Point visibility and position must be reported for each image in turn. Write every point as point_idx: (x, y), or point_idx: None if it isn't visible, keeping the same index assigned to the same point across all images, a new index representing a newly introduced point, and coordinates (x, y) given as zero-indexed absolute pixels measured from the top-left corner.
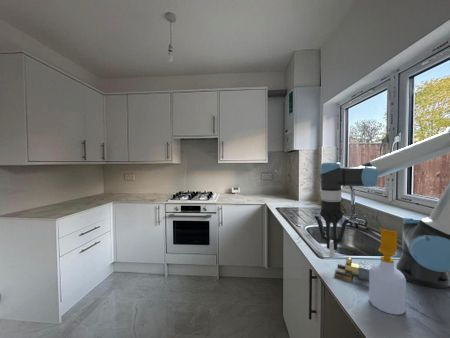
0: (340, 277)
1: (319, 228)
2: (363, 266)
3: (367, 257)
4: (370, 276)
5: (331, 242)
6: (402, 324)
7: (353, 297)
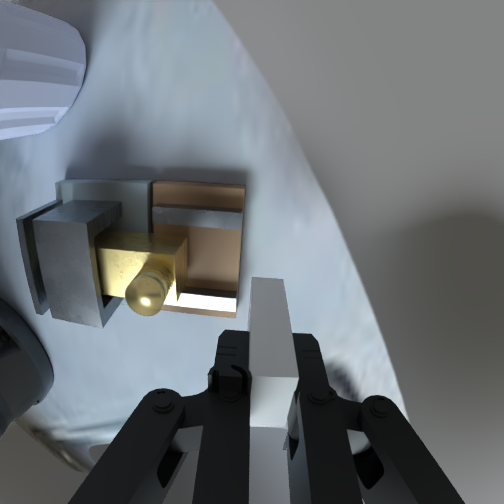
0: (212, 184)
1: (456, 498)
2: (69, 251)
3: None
4: (5, 20)
5: (273, 375)
6: None
7: (147, 37)
